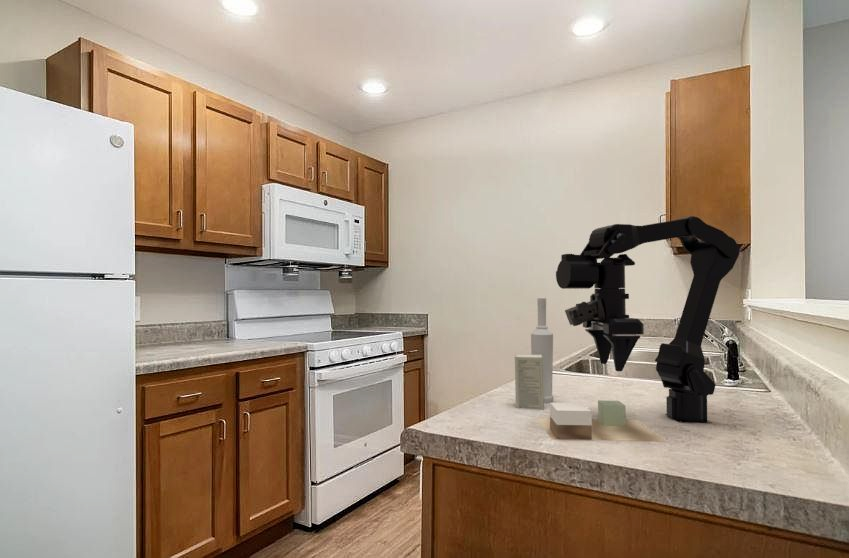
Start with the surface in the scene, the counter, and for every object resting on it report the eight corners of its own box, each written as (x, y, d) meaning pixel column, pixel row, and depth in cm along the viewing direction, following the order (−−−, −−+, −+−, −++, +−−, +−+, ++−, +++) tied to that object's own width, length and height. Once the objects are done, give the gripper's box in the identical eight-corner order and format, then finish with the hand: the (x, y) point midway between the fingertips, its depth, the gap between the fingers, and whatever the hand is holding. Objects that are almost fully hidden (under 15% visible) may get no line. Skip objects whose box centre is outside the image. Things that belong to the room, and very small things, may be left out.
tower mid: (582, 416, 90) (582, 403, 90) (591, 425, 84) (591, 411, 84) (549, 415, 90) (549, 402, 90) (556, 424, 84) (556, 410, 84)
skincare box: (543, 407, 109) (543, 354, 110) (543, 412, 105) (543, 357, 105) (515, 406, 111) (515, 353, 111) (514, 410, 106) (514, 356, 107)
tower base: (582, 429, 89) (582, 416, 90) (591, 439, 83) (591, 425, 84) (550, 429, 90) (549, 415, 90) (556, 439, 84) (556, 424, 84)
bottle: (531, 405, 111) (531, 298, 112) (530, 400, 117) (530, 298, 117) (554, 406, 111) (554, 298, 111) (552, 401, 116) (551, 298, 116)
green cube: (618, 420, 96) (618, 400, 96) (625, 426, 92) (625, 405, 92) (598, 420, 96) (598, 400, 96) (604, 426, 92) (604, 405, 92)
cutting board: (636, 422, 97) (636, 419, 97) (668, 444, 83) (668, 441, 83) (537, 421, 98) (537, 418, 98) (551, 442, 84) (551, 438, 84)
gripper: (558, 289, 105) (559, 360, 104) (580, 288, 86) (582, 375, 86) (610, 288, 104) (611, 360, 104) (644, 288, 85) (645, 375, 85)
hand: (610, 367), depth 94 cm, fingers open, 9 cm apart
